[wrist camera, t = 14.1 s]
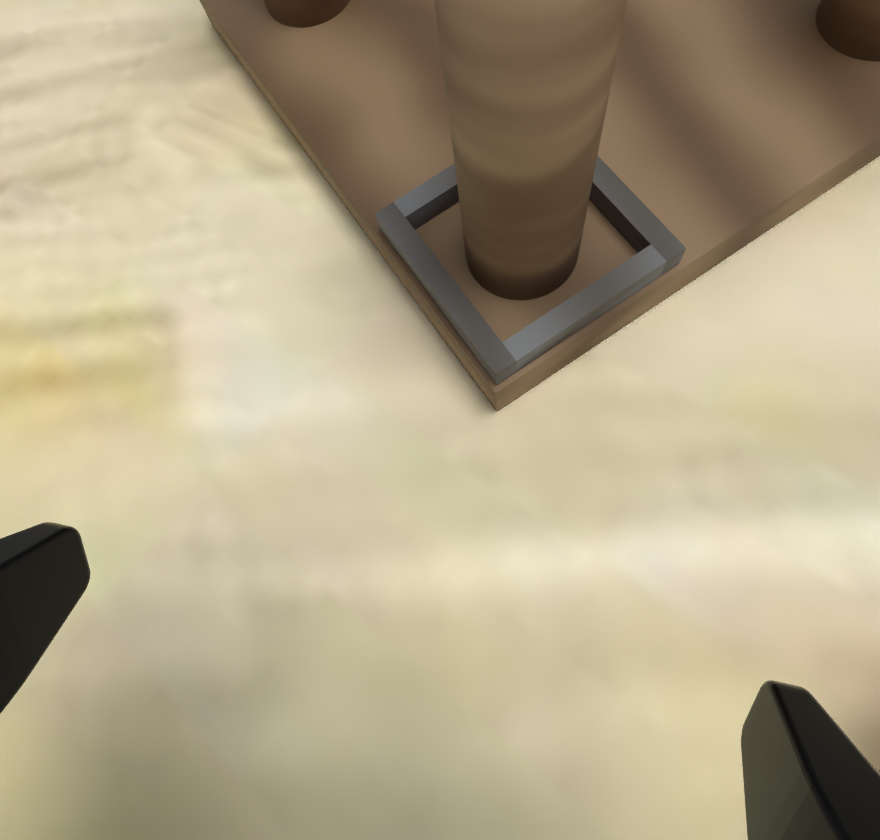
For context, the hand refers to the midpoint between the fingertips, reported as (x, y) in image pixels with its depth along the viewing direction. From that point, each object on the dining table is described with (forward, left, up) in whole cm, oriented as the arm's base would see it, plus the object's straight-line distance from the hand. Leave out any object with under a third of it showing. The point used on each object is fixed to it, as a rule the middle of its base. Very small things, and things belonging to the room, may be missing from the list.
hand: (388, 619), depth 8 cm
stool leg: (+10, +8, -12) cm, 17 cm away
